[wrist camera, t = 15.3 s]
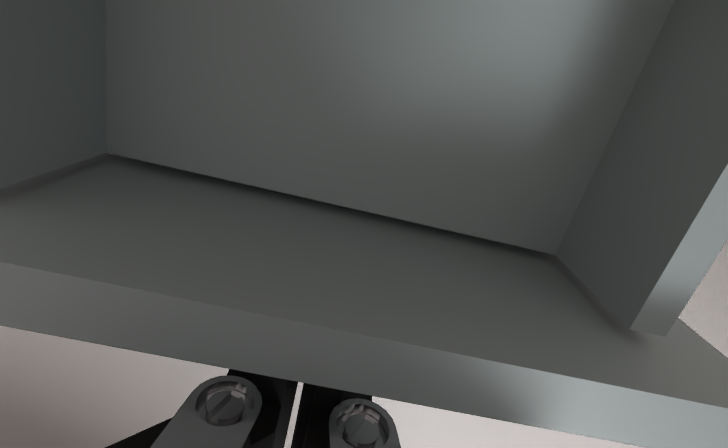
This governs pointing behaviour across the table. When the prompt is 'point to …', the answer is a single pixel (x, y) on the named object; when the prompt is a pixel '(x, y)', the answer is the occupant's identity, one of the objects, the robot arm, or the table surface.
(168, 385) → the table surface
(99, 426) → the table surface
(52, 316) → the tray
